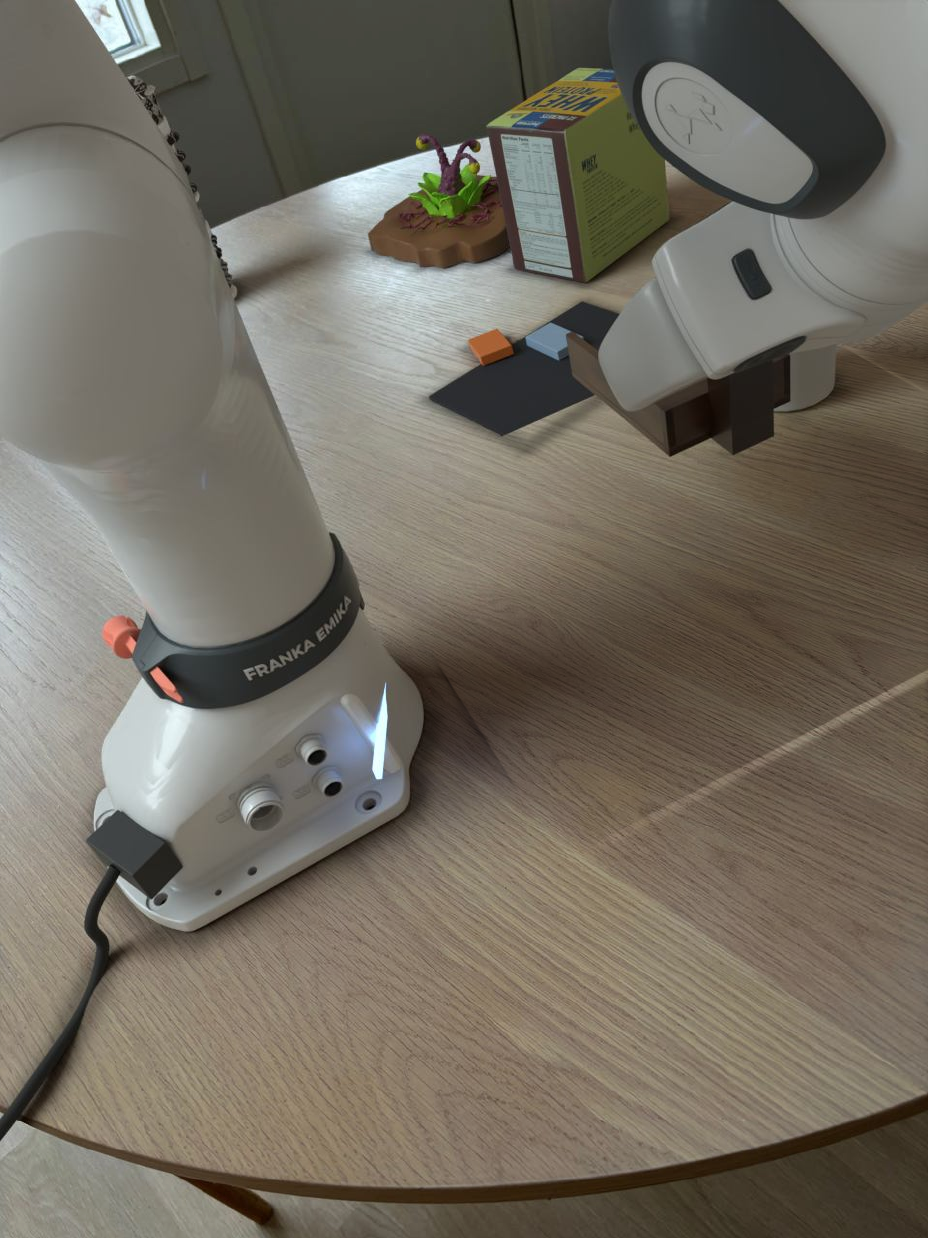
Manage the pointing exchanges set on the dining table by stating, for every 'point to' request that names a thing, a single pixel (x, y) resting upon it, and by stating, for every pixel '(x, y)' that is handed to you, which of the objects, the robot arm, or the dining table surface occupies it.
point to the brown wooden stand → (697, 404)
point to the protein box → (576, 177)
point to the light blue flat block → (550, 341)
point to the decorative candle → (154, 110)
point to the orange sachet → (490, 347)
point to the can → (810, 377)
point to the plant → (445, 215)
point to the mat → (526, 378)
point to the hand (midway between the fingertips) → (732, 348)
